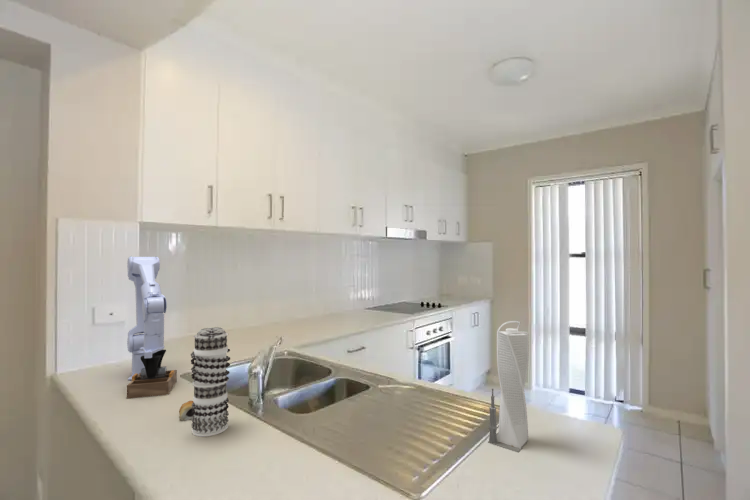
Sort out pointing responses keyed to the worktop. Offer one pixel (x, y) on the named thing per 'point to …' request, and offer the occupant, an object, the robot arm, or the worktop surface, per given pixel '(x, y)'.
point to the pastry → (186, 411)
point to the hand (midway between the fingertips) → (153, 375)
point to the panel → (159, 374)
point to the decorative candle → (210, 382)
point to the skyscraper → (511, 390)
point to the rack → (151, 385)
